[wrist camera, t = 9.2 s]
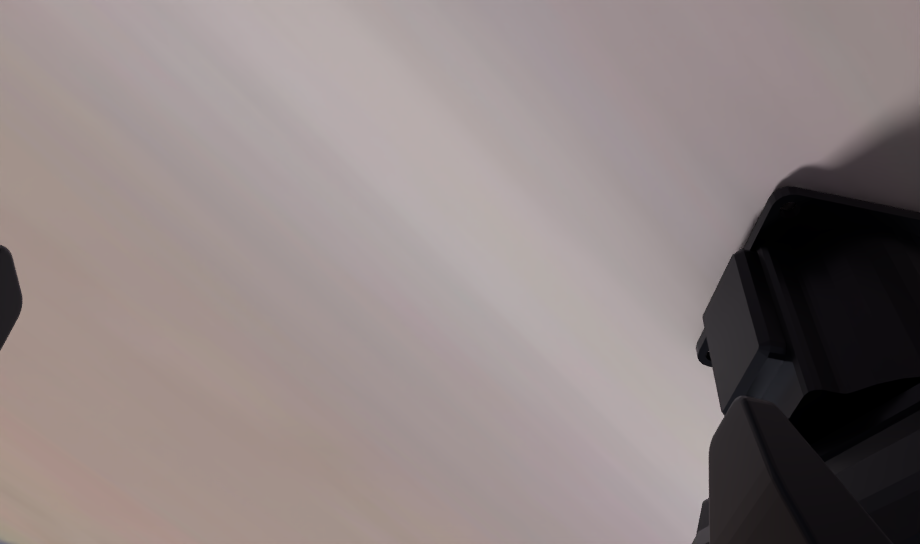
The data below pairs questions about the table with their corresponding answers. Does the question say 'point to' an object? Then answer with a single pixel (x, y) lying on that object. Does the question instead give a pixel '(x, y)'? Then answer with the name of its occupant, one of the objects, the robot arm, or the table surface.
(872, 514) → the robot arm
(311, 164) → the table surface
